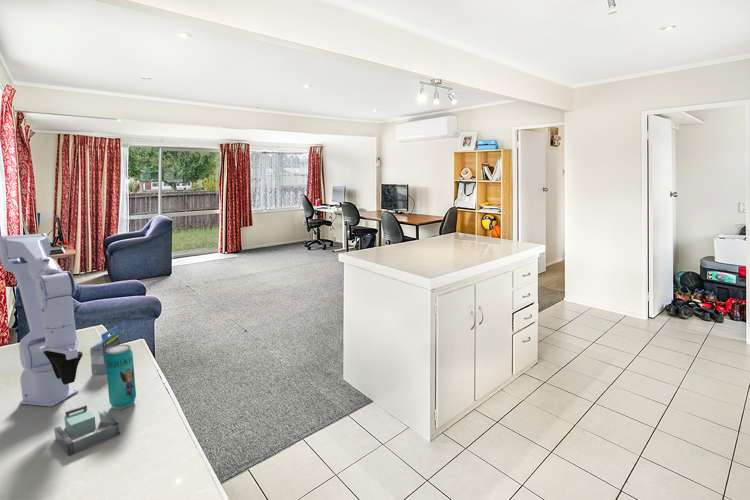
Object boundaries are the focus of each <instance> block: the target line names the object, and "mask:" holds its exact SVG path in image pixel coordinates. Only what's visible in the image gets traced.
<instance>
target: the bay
mask: <svg viewBox="0 0 750 500" xmlns="http://www.w3.org/2000/svg"><path fill="white" fill-rule="evenodd" d="M98 414H99V422H100V423H101V424H102V425H103V426H104V427H101V428H100V429H98V430H95V431H92V432H90V433H87V434H85V435H82V436H80V437H77V438H74V439H71V438H70V436H69V435H68V434H67V433H66V432H65V430H64V429H63V428H62V426H57V427H55V428H54V429H53V430H54V437H55V441H57V443H58V445H59V446H61V448H62V449H63V450H64V452H66V454H67V455H68V457H69V456H72V455H75V454H77V453H79V452H81V451H84V450H87V449H88V448H90V447H93V446H96V445H97V444H100V443H103V442H106V441H107V440H109V439H113V438H114V437H117V436H120V435H121V428H120V422H118V421H117V420H116V419H115V418H113V417H112V415H110V414H109V413H108V412H107V411H106V410H105V409H104V410H101V411H99V412H98Z"/></svg>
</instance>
